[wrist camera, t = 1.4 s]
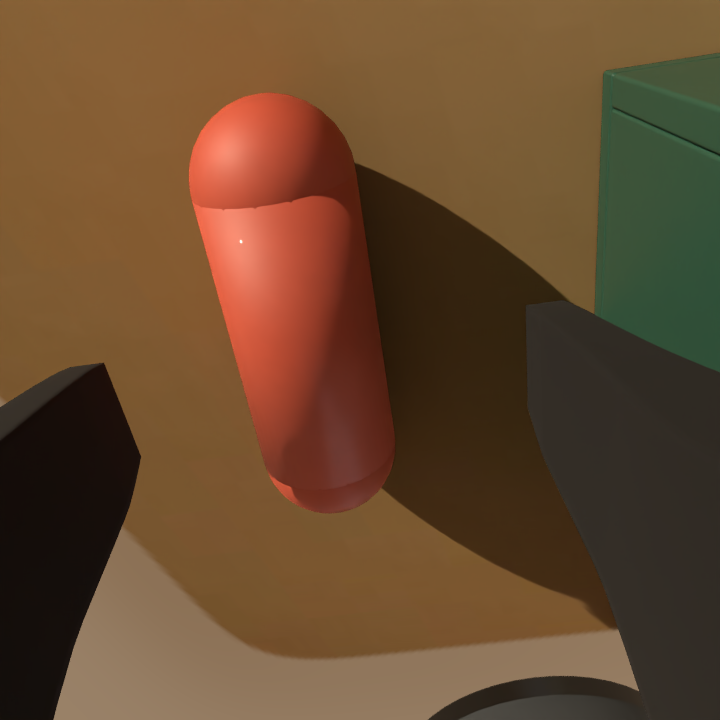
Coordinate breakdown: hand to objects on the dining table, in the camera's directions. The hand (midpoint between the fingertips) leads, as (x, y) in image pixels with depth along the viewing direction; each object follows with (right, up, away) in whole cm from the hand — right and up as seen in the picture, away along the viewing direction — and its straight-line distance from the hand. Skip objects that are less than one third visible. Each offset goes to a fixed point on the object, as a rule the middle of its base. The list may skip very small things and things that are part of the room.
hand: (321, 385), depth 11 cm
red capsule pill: (0, +2, +3) cm, 4 cm away
